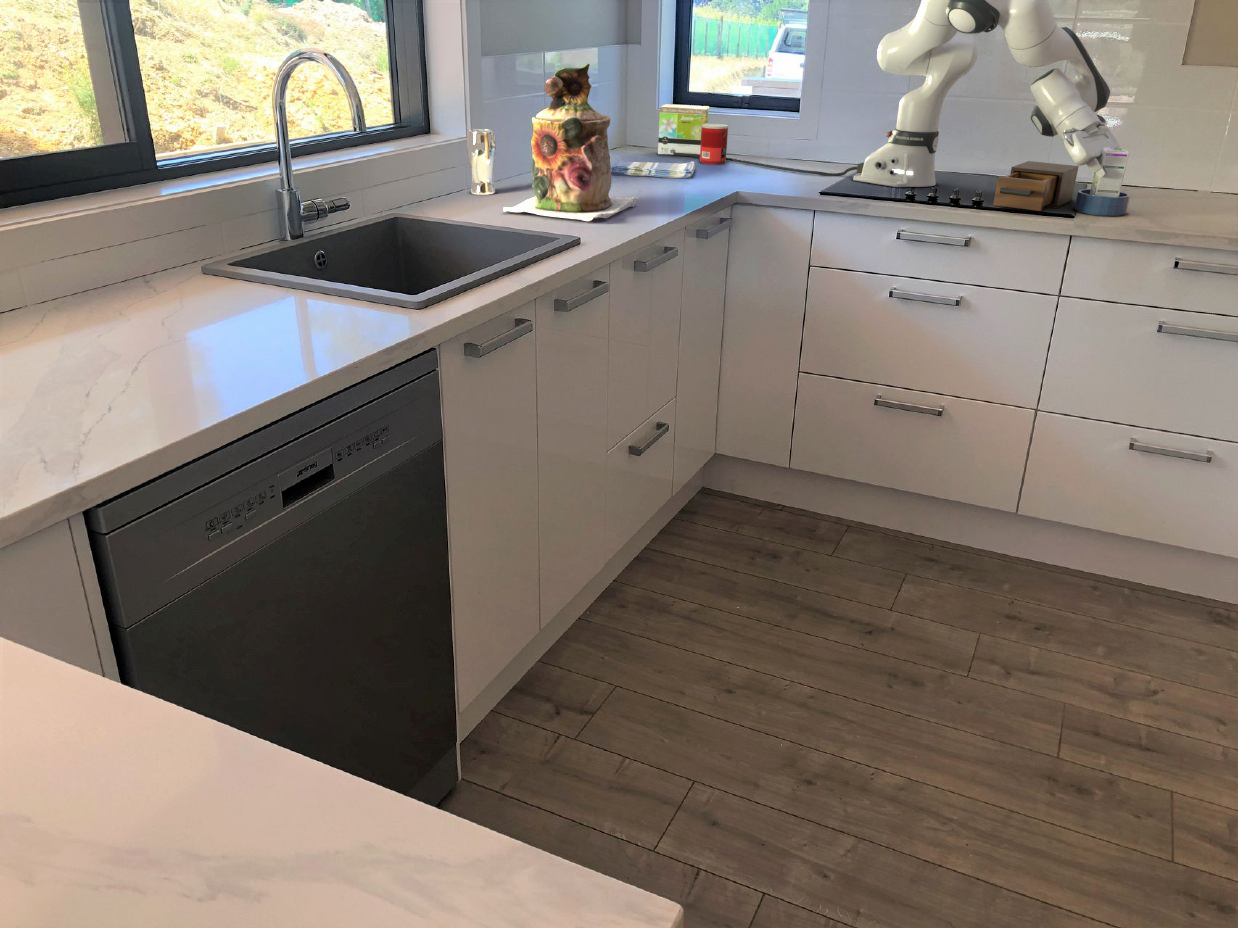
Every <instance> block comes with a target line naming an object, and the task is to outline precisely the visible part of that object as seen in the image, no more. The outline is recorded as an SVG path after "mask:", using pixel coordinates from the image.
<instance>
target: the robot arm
mask: <svg viewBox="0 0 1238 928" xmlns="http://www.w3.org/2000/svg"><path fill="white" fill-rule="evenodd" d="M998 26H999V27H1001V30H1002V31H1003V34H1004V37H1005V41H1006V43H1007V47H1008V50H1009V52H1010V54H1011V56H1012V58H1013V59H1014V60H1015V62H1016V63H1018V64H1020V65H1022V66H1024V67H1028V68H1040V67H1041V68H1043V67H1046V66H1049V65H1051V64H1054V63H1058V62H1062V61H1068V63H1069V64H1070V66H1071V68H1072V70H1073V71H1074V73H1075V76H1074V77H1073V78H1072V80H1071V79H1070V77H1068V75H1066V73H1064V72H1063V71H1062V70H1061V69H1060V68H1058V67H1057V68H1052V69H1050V70H1048V71H1047V72H1045V73H1044V74H1041V76H1039V77H1038V78H1037V79H1035V80H1034V81H1033V82H1032V83H1031V85H1030V86H1029V87H1030V91H1031V93H1032V95H1033V96H1032V97H1034V100H1035V106H1034V107H1033V109H1032V111H1031V115H1030V120H1031V122H1032V123H1033V125H1034V127H1035V128H1036V130H1037V131H1038V132H1039V134H1040V135H1041V136H1044V137H1050V138H1051V137H1052V138H1053V137H1055V136H1059V138H1060V139H1061V140H1062V141H1063V145H1064V148H1065V149H1066V151H1067V153H1068V154H1069V156H1070V158H1071V160H1072V161H1073V162H1074V164H1076V166H1079V167H1081V166H1085V165H1086V167H1088V169H1090V171H1092V172H1093V173H1094V172H1095V173H1096V175H1097V176H1098V177H1099V178H1101V177H1104V176H1105V175H1106V174H1107V171H1106V170H1105V168H1104V167H1102V166H1101V165H1100V164H1099V163H1098V160H1097V159H1098V157H1099V156H1102V149H1103V148H1105V147H1113V148H1121V147H1120V144H1119V142H1118V140H1117V139H1116V137H1115V135H1114V134H1113V132H1112V131H1111V129H1110V128H1109V127H1108V126H1107V124H1108V121H1107V119H1106V118H1105V117H1104V116H1103V115H1100V114H1097V113H1096V112H1099V111H1100V110H1102V109H1104V108H1105V107H1107V104H1108V101H1109V100H1110V96H1111V89H1110V87H1109V84H1108V83H1107V80H1105V78H1104V77H1103V76H1102V75H1101V73H1100V72H1099V70H1098V68H1097V67H1096V65H1095V63H1094V61H1093V58H1092V57H1091V56H1090V54H1089V52H1088V50H1087V49H1086V47H1085V45H1084V44H1083V42H1082V40H1081V39H1080V37H1079V36H1078V35H1077V34H1076V33H1075V32H1074V31H1073V30H1072V29H1071V28H1069V27H1067V26H1064V27H1060V26H1058V24H1057V22H1056V19H1055V15H1054V12H1053V10H1052V8H1051V5H1050V3H1049V2H1048V0H921V1H920V3H919V7H918V9H917V12H916V15H915V16H914V18H913V19H912V20H911V21H909V22H908V23H906V24H905V25H904V26H903V27H900V28H899V29H897V30H894V31H892V32H889V33H886V35H884V37H883V38H882V39H880V42H879V44H878V47H877V50H876V60H877V64H878V66H879V68H880V69H881V71H883V72H885V73H889V74H891V75H892V74H893V75H897V76H913V77H914V76H915V77H925V81H924V82H923V84H922V85H921V86H919V87H917V88H915V89H913V90H911V91H909V92H907V93H905V94H904V95H903V96H902V97H901V99H900V100H899V103H898V109H897V117H896V124H895V128H894V129H892V130H890V131H888V132H886V138H887V142H886V143H885V144H884V145H882V146H881V147H879V148H878V149H876V150H874V151H873V152H871V153H870V154H869V155H868V156H867V157H866V158H865V160H864V161H863V162H859V163H857V166H851V167H848V168H846V169H845V170H843V171H842V172H825V171H817V170H807V169H799V168H793V167H786V166H779V165H773V164H766V163H763V162H756V161H751V160H744V159H738V158H732V157H726V161H730V162H736V163H741V164H746V165H753V166H758V167H764V168H768V169H769V168H770V169H775V170H781V171H787V172H795V173H802V174H811V175H819V176H824V177H825V176H826V177H827V176H829V177H841V176H844V175H846V174H847V173H849V172H850V171H856V174H854V175H853V178H852V180H853V181H856V182H863V183H870V184H875V185H880V186H881V185H882V186H888V187H893V188H924V187H933V186H936V185H937V182H936V172H935V171H936V169H935V168H936V167H935V165H936V164H935V159H936V158H935V157H936V153H937V150H938V145H939V135H940V134H939V133H940V132H939V130H938V129H939V123H940V118H941V114H942V113H941V112H942V109H943V105H944V101H945V100H946V97H947V95H948V93H949V91H950V90H951V89H952V87H953V86H954V85H955V84H956V83H957V82H958V81H959V80H960V79H961V78H963V77H964V76H966V75H967V74H968V73H970V71H972V69H973V68H974V67H975V65H976V63H977V60H978V56H979V47H978V43H977V41H976V39H975V38H974V37H973V35H976V34H977V35H978V34H980V33H982V32H984V33H990V32H993V31H994V30H995V29H997V27H998ZM972 34H973V35H972ZM673 156H681V157H693V158H700V154H688V153H673Z"/></svg>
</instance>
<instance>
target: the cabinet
mask: <svg viewBox="0 0 1238 928" xmlns="http://www.w3.org/2000/svg"><path fill="white" fill-rule="evenodd" d="M1079 168H1080V166H1078V165H1073V164H1061V163H1052V162H1043V161H1033V160H1032V161H1031V160H1028V161H1025V162H1022V163H1019V164H1016V165H1014V166H1011V168H1010V172H1009V175H1010V174H1013V173H1015V172H1026V173H1035V174H1045V175H1054V176H1058V181H1057V186H1056V191H1055V196H1054V201H1053V202H1052V203H1050V204H1048V205H1046V206H1044V207H1045V208H1053V209H1058V208H1059V207H1061V206H1063V205H1065V204H1067V203H1070V202H1071V201H1072V200H1073V196H1074V190H1075V187H1076V182H1077V177H1078V171H1079ZM1044 207H1043V208H1044Z"/></svg>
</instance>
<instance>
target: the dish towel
mask: <svg viewBox="0 0 1238 928" xmlns="http://www.w3.org/2000/svg"><path fill="white" fill-rule="evenodd" d="M695 169H696V162H694V161H689V162H682V163H681V162H680V163H678V162H677V163H674V162H648V161H626V160H617V161H616V162H615V163H614V164H613V165H612V166H611V176H612V175H613V176H636V177H654V178H655V177H656V178H664V179H666V178H667V179H668V178H672V179H675V178H676V179H679V178H680V179H681V178H684V179H691V178H692V176H693V174H694V171H695Z"/></svg>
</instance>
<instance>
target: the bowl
mask: <svg viewBox="0 0 1238 928" xmlns="http://www.w3.org/2000/svg"><path fill="white" fill-rule="evenodd" d="M1090 190H1091V188H1084V189H1079V190H1077V195H1076V199H1075V204H1074V210H1076V211H1077V212H1078V213H1082V214H1086V215H1091V216H1092V215H1093V216H1101V217H1119V216H1123V215H1126V214H1127V212H1128V208H1129V203H1130V198H1131V195H1130V194H1129V193H1127V192H1123V191H1120V195H1119V197H1104V196H1095V195H1089V194H1090Z"/></svg>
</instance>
